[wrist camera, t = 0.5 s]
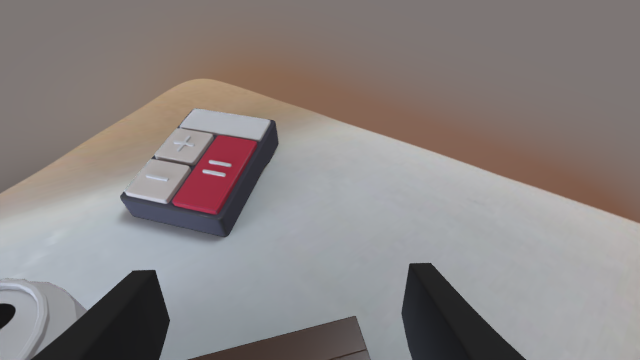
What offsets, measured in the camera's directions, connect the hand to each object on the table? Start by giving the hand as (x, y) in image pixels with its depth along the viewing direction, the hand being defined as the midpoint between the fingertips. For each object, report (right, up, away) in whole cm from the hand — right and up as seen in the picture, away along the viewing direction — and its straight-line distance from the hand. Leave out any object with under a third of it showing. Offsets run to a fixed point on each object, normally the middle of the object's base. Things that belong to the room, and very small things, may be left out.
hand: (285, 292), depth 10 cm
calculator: (-11, +4, +30) cm, 32 cm away
